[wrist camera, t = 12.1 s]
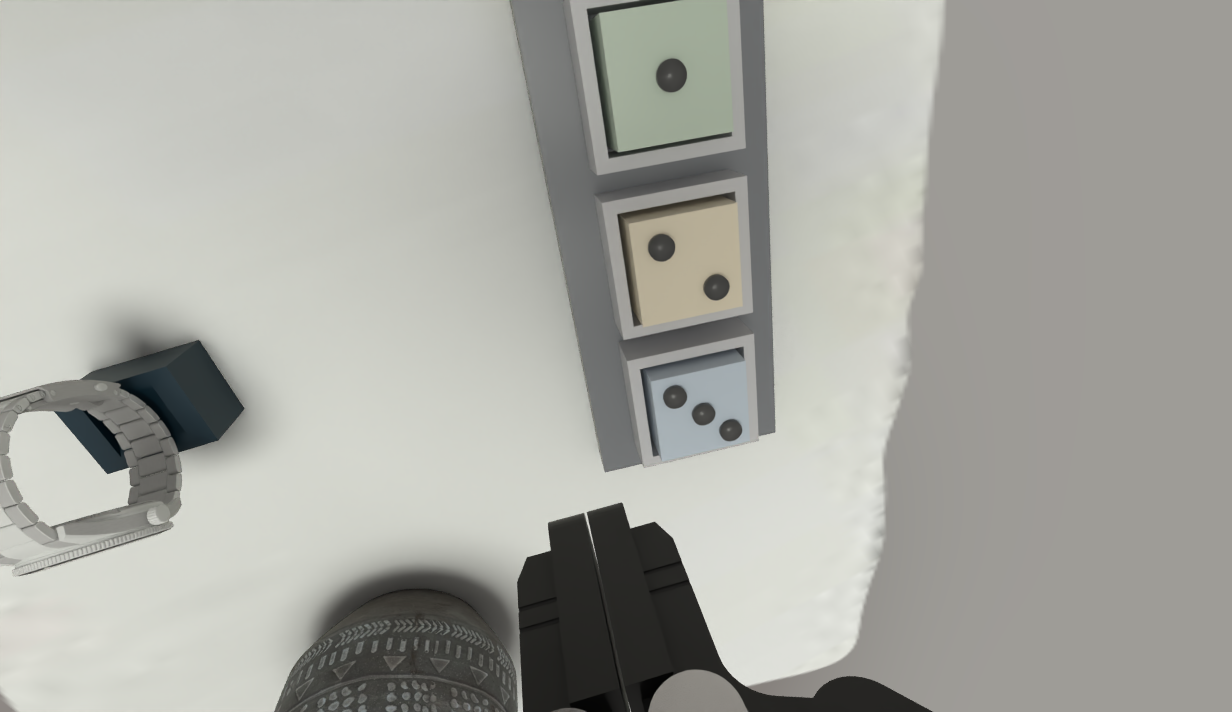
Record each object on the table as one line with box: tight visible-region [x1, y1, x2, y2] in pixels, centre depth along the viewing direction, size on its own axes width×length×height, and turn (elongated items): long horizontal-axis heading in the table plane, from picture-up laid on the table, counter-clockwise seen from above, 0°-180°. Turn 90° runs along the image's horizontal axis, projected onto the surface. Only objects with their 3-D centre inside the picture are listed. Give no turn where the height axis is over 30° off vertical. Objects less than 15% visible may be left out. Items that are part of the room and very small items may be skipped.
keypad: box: [510, 0, 775, 472], centre depth 29 cm, size 26×11×4 cm, turn 9°
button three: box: [640, 348, 750, 462], centre depth 31 cm, size 5×5×4 cm
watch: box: [0, 340, 244, 576], centre depth 25 cm, size 6×8×11 cm
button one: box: [589, 0, 734, 152], centre depth 24 cm, size 5×5×4 cm
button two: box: [617, 195, 743, 327], centre depth 27 cm, size 5×5×4 cm
